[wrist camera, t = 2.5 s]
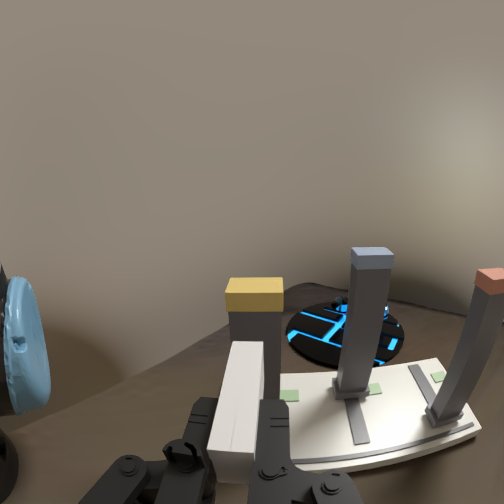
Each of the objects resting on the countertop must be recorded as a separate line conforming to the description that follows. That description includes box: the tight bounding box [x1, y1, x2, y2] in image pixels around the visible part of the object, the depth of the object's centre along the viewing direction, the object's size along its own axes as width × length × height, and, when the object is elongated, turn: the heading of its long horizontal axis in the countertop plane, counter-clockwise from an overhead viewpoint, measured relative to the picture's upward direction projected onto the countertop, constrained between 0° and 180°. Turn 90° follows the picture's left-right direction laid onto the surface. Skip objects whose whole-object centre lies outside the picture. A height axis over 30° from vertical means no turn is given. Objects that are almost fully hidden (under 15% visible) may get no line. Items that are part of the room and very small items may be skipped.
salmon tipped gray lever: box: [424, 268, 504, 428], centre depth 20 cm, size 4×3×18 cm
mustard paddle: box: [225, 277, 283, 399], centre depth 22 cm, size 4×3×18 cm
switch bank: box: [280, 358, 481, 474], centre depth 28 cm, size 32×16×2 cm, turn 86°
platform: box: [287, 296, 404, 369], centre depth 47 cm, size 22×22×6 cm
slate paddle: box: [332, 247, 394, 400], centre depth 28 cm, size 4×3×18 cm
